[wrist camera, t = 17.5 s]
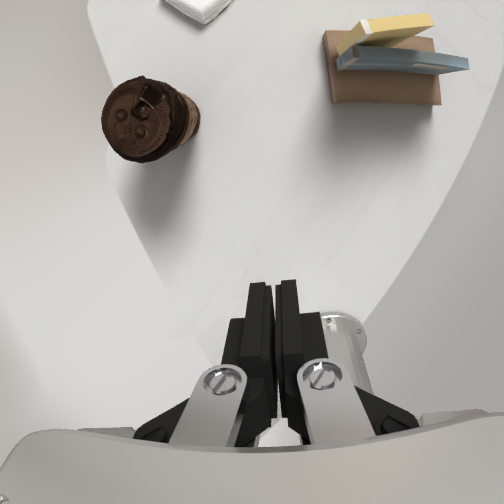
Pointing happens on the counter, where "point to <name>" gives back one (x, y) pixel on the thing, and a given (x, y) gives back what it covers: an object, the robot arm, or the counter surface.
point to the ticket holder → (388, 71)
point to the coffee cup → (148, 119)
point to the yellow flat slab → (385, 31)
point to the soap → (200, 8)
